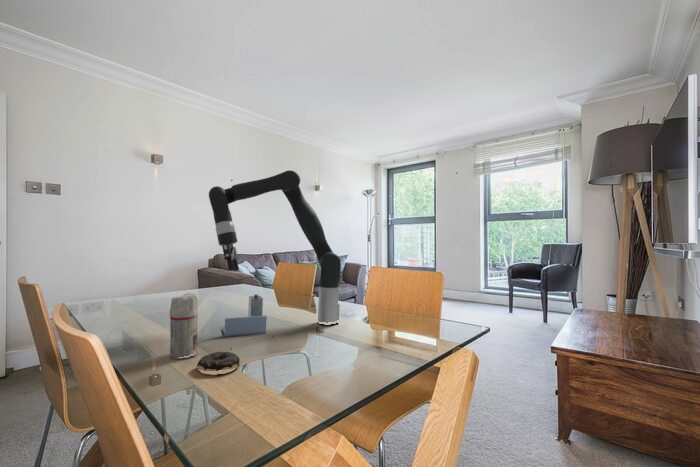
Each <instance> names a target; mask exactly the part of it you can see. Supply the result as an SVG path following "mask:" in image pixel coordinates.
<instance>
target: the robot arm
mask: <svg viewBox="0 0 700 467" xmlns="http://www.w3.org/2000/svg"><path fill="white" fill-rule="evenodd" d="M300 184H301V178H300V175H299V174H298V173H297V172H296V171H295V170H286V171H283V172H280V173H278V174H275V175H273V176H268V177H266V178H262V179H257V180H252V181H251V180H250V181H247V182H241V183H236V184H233V185H232V186H231V187H229V188H225V189H224V188H223V187H221V186H212V187H211V188H210V190H209V192H208V198H209V203H210V205H211V206H210V207H211V209H212V212H213V219H214V220H213V221H214V224H215V231H216V238H217V242H218V245H219V246H220V247H222V252H223V256H224V258H223V259H224V260H225V261H226V264H227V267H228V270H229V271H235V272H236V271H239V269H240V267H239V263H238V262H239V256H238V252H237V248H236V246H234V244H237V243H238V237H237V232H236V229H235V224H234V222H233V217H232V213H231V211H230V208H229V204H232V203H234V202H237V201H242V200H247V199H250V198H255V197H258V196H261V195H264V194H266V193H270V192H275V191H282V193H283V194H284V196H285V197H286V199H287V201H288V202H289V205H290V206H291V209H292V210H293V214H294V216H295V218H296V221H297V223H298V224H299V226H300V229H301V231H302V232H303V233H304V235H305V237H306V239H307V241H308V242H309V244H310V245H311V247H312V249H313V250H314V253H315V255H316V259H317V261H318V263H319V266H320V278H319V281H318V284H319V285H318V305H317V306H318V309H317V310H318V311H317V322H318V321H319V322H326V323H328V322H335V321H337V320H339V321H340V306H341V305H340V303H339V288H340V287H339V286H340V281H341V269H342V268H341V266H342V263H341V258H340V256H339V255H338V254H336V253H334V251H333V250H332V248H331V246H330V244H329V243H328V240H327V239H326V236H325V235H326V234H325V231H324V229H323V225H322V222H321V221H320V218H319V217H318V215H317V212H316V211H315V210H314V208H313V207H312V206H311V205H310V203H309V202H308V201H307V200H306V198H305V196H304V195H303V193H302V189H301V188H300Z"/></svg>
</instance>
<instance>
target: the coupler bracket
mask: <svg viewBox="0 0 700 467" xmlns="http://www.w3.org/2000/svg"><path fill="white" fill-rule="evenodd" d="M267 319H268V318H267V315H262V316H252V317H248V316H240V317H238V316H237V317H225V318H224V327H222V333H223V336H224V337H233V336H243V335H245V336H246V335H253V334H255V335H257V334H266V333H267Z"/></svg>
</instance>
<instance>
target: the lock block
mask: <svg viewBox="0 0 700 467" xmlns="http://www.w3.org/2000/svg"><path fill="white" fill-rule="evenodd" d="M263 301H264V298H263V297H262V296H261V295H259V294H257V293H256V294H253V295H252V296H251V295H250V296H248V312H247V314H248V315H247V317H252V316H263V308H264V307H263V306H264V304H263V303H264V302H263Z"/></svg>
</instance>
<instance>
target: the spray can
mask: <svg viewBox="0 0 700 467" xmlns="http://www.w3.org/2000/svg"><path fill="white" fill-rule="evenodd" d="M198 303H199V301H198V296H197V294H194V293H191V292H187V293H185V294H183V295H181V296H175V297H172V298H171V303H170V310H169V318H170V319H169V321H170V330H169V332H170V337H169V338H170V340H169V341H170V345H169V346H170V350H169V352H170V353H169V354H170V356H169V357H170V358H171V359H172V358H173V360H175V359H174V358H179V357H184V356H189V355H191V354H194V353H195V352H197V353H198V318H199V317H198V307H199V305H198Z"/></svg>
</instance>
